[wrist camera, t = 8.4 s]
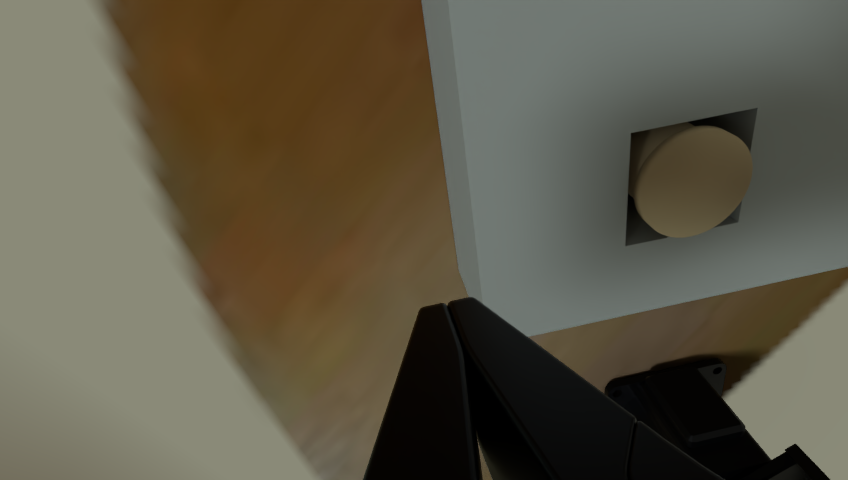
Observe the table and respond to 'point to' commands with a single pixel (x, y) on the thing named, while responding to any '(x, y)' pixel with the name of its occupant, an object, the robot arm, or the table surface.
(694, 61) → the board
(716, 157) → the peg
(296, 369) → the table surface
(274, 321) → the table surface
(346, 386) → the table surface
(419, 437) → the robot arm
